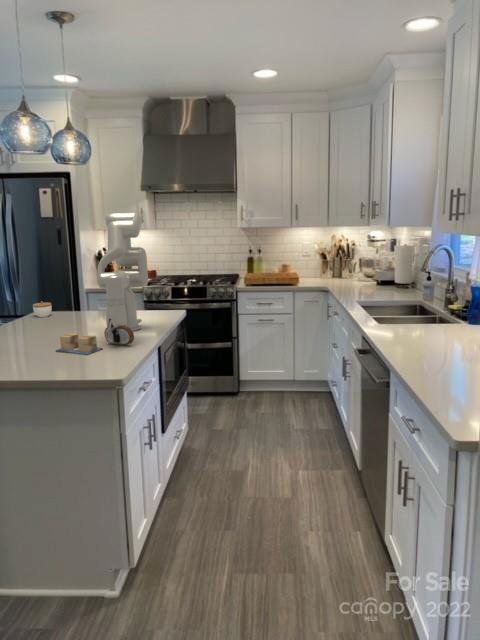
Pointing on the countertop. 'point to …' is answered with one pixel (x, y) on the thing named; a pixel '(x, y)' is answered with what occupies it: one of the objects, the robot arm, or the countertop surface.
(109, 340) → the tin
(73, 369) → the countertop surface
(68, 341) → the bridge base
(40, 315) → the lidded jar
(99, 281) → the robot arm
